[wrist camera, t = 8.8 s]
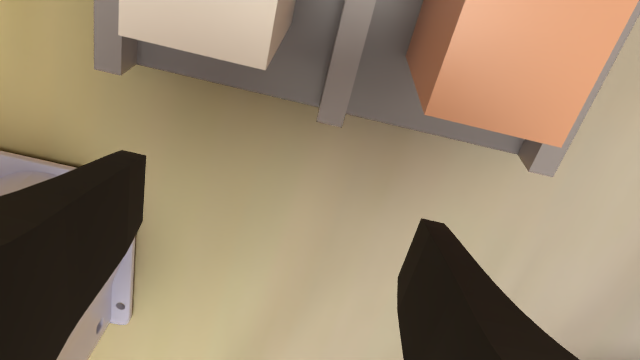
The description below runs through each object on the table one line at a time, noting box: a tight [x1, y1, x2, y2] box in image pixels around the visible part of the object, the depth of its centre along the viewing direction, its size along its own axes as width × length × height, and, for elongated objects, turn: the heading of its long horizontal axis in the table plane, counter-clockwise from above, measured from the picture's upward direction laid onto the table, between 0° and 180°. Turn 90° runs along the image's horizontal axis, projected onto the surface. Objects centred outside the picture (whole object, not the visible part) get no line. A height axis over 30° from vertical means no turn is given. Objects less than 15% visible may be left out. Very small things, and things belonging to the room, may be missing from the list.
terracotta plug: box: [406, 0, 639, 148], centre depth 15 cm, size 6×4×6 cm, turn 167°
